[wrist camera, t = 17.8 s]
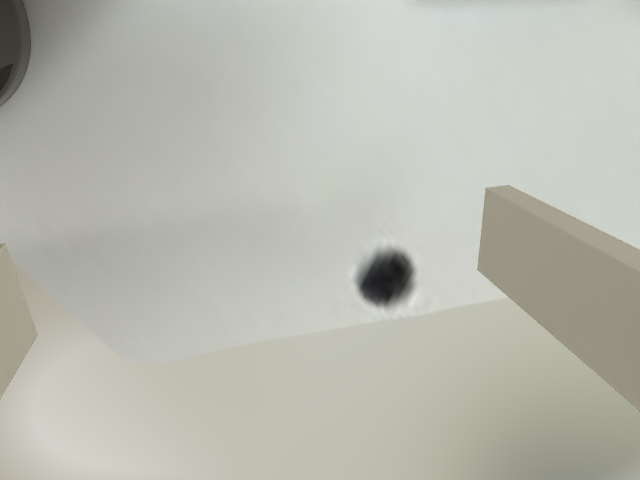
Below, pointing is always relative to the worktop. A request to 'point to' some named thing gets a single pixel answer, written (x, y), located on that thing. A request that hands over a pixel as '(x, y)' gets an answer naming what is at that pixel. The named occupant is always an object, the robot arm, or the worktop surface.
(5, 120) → the worktop surface
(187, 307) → the worktop surface
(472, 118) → the worktop surface
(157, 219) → the worktop surface
